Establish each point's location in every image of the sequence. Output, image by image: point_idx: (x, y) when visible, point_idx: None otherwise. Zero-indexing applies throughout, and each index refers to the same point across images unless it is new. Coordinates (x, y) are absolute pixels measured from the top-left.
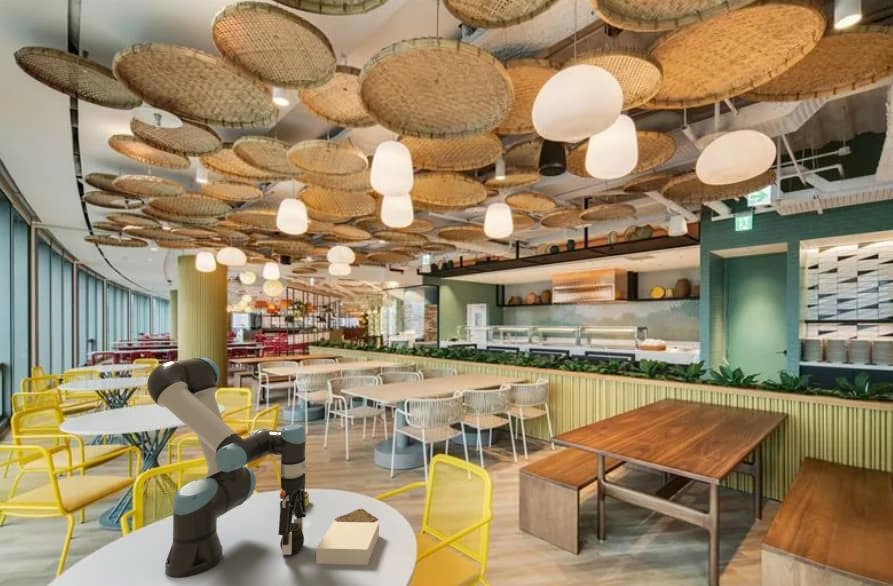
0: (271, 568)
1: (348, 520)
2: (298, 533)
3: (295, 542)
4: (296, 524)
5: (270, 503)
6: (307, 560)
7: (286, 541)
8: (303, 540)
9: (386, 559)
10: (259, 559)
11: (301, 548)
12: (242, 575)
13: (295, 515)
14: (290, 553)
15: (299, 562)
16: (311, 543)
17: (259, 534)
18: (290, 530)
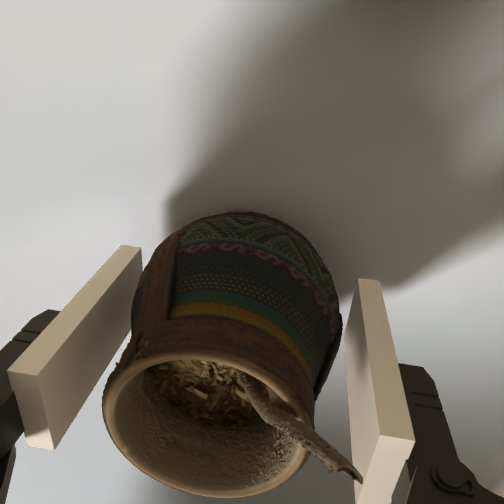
0: (452, 352)
1: None
2: (261, 323)
3: (320, 297)
4: (125, 394)
5: None
6: (403, 113)
7: (438, 406)
8: (228, 228)
9: None
10: (327, 429)
11: (262, 214)
12: (483, 471)
13: (10, 474)
14: (380, 286)
15: (420, 179)
16: (132, 152)
17: (76, 470)
18: (175, 399)
